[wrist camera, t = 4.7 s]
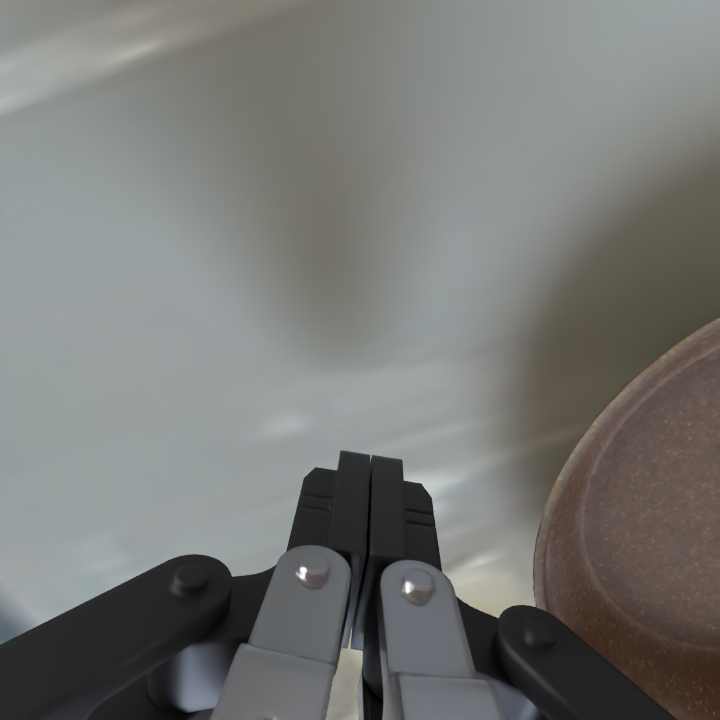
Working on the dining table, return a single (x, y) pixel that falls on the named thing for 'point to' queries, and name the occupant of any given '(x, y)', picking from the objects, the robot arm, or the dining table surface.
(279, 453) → the dining table surface
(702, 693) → the saucer
